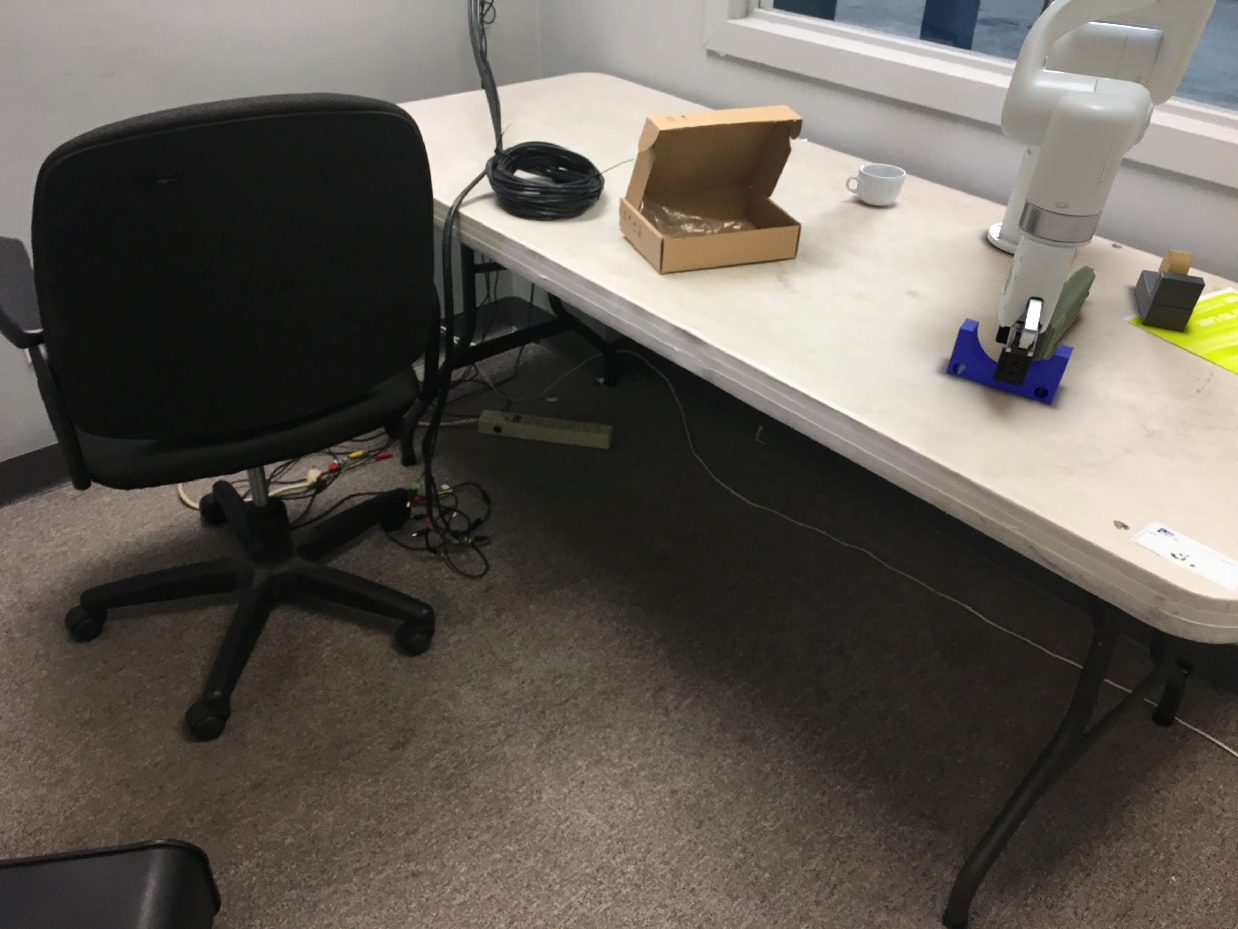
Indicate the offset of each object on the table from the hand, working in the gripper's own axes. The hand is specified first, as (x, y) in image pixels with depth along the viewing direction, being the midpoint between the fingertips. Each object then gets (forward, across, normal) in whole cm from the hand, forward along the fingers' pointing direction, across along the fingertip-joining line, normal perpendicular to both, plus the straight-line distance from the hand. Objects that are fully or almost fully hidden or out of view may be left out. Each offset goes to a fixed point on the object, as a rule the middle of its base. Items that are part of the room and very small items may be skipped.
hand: (1007, 362), depth 101 cm
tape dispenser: (+3, -30, +20) cm, 36 cm away
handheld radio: (+3, -16, +6) cm, 18 cm away
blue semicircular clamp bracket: (+3, 0, 0) cm, 3 cm away
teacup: (+3, -55, -23) cm, 60 cm away
